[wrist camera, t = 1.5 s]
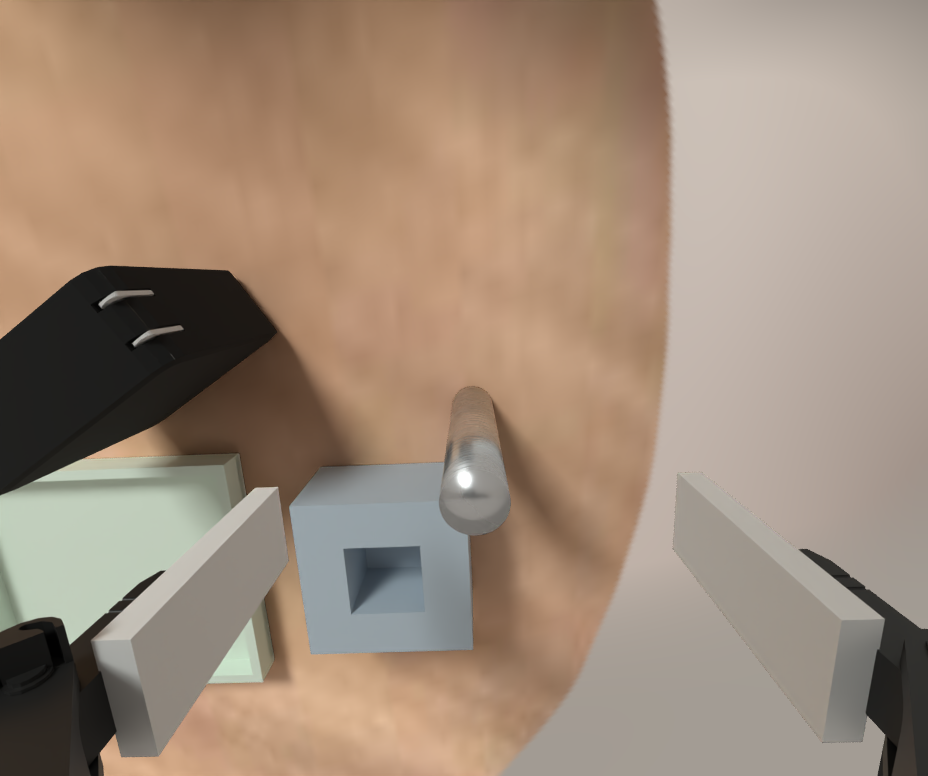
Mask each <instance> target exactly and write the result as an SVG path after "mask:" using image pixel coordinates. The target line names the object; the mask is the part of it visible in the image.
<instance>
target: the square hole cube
mask: <svg viewBox="0 0 928 776" xmlns="http://www.w3.org/2000/svg"><path fill="white" fill-rule="evenodd" d="M443 468H444V462H438V463H411V464H385V465H358V466H332V467H320V468H319V470H318V471H317V472H316V473H315V475H314V476H313V477H312V478H311V480H310V481H309V482H308V483H307V485H306V486H305V487H304V488H303V490H302V491H301V492H300V493H299V495H298V496H297V497H296V498H295V500H294V501H293V502H292V503H291V505H290V506H289V510H290V517H291V523H292V530H293V537H294V543H295V550H296V557H297V564H298V570H299V577H300V584H301V590H302V597H303V604H304V611H305V617H306V624H307V631H308V638H309V644H310V651H311V654H341V653H376V652H411V651H446V650H473V588H472V566H471V545H470V535H466V534H463V533H460V532H458V531H456V530H454V529H453V528H451V527H450V526H449V525H448V524H447V523H446V522H445V520H444V519H443V517H442V515H441V512H440V508H439V497H440V490H441V482H442V475H443Z"/></svg>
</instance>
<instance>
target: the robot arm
mask: <svg viewBox="0 0 928 776" xmlns="http://www.w3.org/2000/svg"><path fill="white" fill-rule="evenodd" d="M673 550H674V551H675V552H676V554H677V555H678V556H679V558H680V559H681V560H682V561H683V563H684V564H685V565H686V566H687V568H688V569H689V571H690V572H691V573H692V574H693V576H694V577H695V578H696V580H697V581H698V582H699V584H700V585H701V586H702V587H703V589H704V590H705V591H706V593H707V594H708V595H709V597H710V598H711V599H712V600H713V602H714V603H715V604H716V605H717V607H718V608H719V609H720V611H721V612H722V613H723V615H724V616H725V617H726V619H727V620H728V621H729V622H730V624H731V625H732V626H733V628H734V629H735V630H736V632H737V633H738V634H739V635H740V636H741V638H742V639H743V641H744V642H745V643H746V645H747V646H748V647H749V648H750V650H751V651H752V652H753V654H754V655H755V656H756V658H757V659H758V660H759V661H760V663H761V664H762V665H763V666H764V668H765V669H766V671H767V672H768V673H769V674H770V676H771V677H772V678H773V680H774V681H775V682H776V683H777V685H778V686H779V687H780V689H781V690H782V691H783V692H784V694H785V695H786V696H787V698H788V699H789V700H790V701H791V703H792V704H793V706H794V707H795V708H796V709H797V710H798V712H799V713H800V715H801V716H802V717H803V718H804V720H805V721H806V722H807V724H808V725H809V726H810V728H811V729H812V730H813V731H814V733H815V734H816V735H817V737H818V738H819V739H820V741H821V742H822V743H835V742H862V741H863V736H864V731H865V725H866V719H867V715H868V716H869V718H870V719H871V720H872V721H873V722H874V723H875V724H876V725H877V726H878V727H879V728H880V729H881V730H882V732H883V733H884V734H885V741H884V746H883V751H882V756H881V761H880V766H879V771H878V776H928V629H920V628H919V627H917V626H916V625H915V624H914V623H912V622H911V621H909V620H908V619H907V618H906V617H904V616H903V615H902V614H900V613H899V612H898V611H896V610H895V609H894V608H893V607H891V606H890V605H889V604H887V603H886V602H885V601H883V600H882V599H880V598H879V597H878V596H877V595H875V594H874V593H873V592H871V591H870V590H866V589H865V586H864V585H862V584H861V583H860V582H858V581H857V580H856V579H854V578H850V575H849V574H848V573H846V572H845V571H844V570H842V569H841V568H840V567H839V566H837V565H836V564H835V563H833V562H832V561H831V560H828V559H826V558H824V557H822V556H820V555H818V554H816V553H814V552H812V551H810V550H808V549H797V548H796V547H794V546H793V545H792V544H791V543H789V542H788V541H787V540H786V539H784V538H783V537H782V536H781V535H779V534H778V533H777V532H776V531H774V530H773V529H772V528H771V527H769V526H768V525H767V524H766V523H765V522H763V521H762V520H761V519H760V518H758V517H757V516H756V515H754V514H753V513H752V512H751V511H749V510H748V509H747V508H746V507H744V506H743V505H742V504H741V503H740V502H738V501H737V500H736V499H735V498H733V497H732V496H731V495H730V494H728V493H727V492H726V491H725V490H723V489H722V488H721V487H720V486H718V485H717V484H716V483H715V482H713V481H712V480H711V479H710V478H708V477H707V476H706V475H705V474H703V473H702V472H685V473H678V474H677V491H676V506H675V522H674V538H673ZM288 561H289V559H288V552H287V545H286V538H285V531H284V524H283V518H282V511H281V504H280V497H279V490H278V487H263V488H254V489H253V490H252V491H251V492H250V493H249V494H248V495H247V496H246V497H245V498H244V499H243V500H242V501H240V502H239V503H238V504H237V505H236V506H235V507H234V508H233V509H232V510H231V511H230V512H229V513H228V514H226V515H225V516H224V517H223V518H222V519H221V520H220V521H219V522H218V523H217V524H216V525H215V526H214V527H212V528H211V529H210V530H209V531H208V532H207V533H206V534H205V535H204V536H203V537H202V538H201V539H200V540H199V541H197V542H196V543H195V544H194V545H193V546H192V547H191V548H190V549H189V550H188V551H187V552H186V553H185V554H183V555H182V556H181V557H180V558H179V559H178V560H177V561H176V562H175V563H174V564H173V565H172V566H171V567H169V568H168V569H167V570H163V571H159V572H157V573H156V574H154V575H152V576H150V577H149V578H147V579H145V580H144V581H142V582H140V583H139V584H138V585H136V586H135V587H134V588H133V589H132V590H131V591H130V592H129V593H127V594H126V595H125V596H124V597H123V599H122V601H118V602H117V603H116V604H115V605H114V606H113V607H112V608H111V609H110V610H109V612H108V613H105V614H104V615H103V616H102V617H101V618H99V619H98V620H97V621H96V622H95V623H94V624H93V625H92V626H90V627H89V628H88V629H87V630H86V631H85V632H84V633H83V634H81V635H80V636H79V637H78V638H77V639H76V640H75V641H74V642H72V643H71V644H69V641H68V637H67V634H66V630H65V626H64V624H63V621H62V619H60V618H56V617H43V618H37V619H33V620H30V621H26V622H23V623H20V624H17V625H15V626H13V627H10V628H8V629H6V630H3V631H1V632H0V776H104V771H103V763H102V760H101V756H100V752H101V750H102V749H103V748H104V747H105V745H106V744H107V743H108V742H109V740H110V739H111V738H112V737H113V735H114V734H115V735H116V739H117V742H118V746H119V750H120V754H121V757H155V756H159V755H160V754H161V752H162V751H163V749H164V748H165V746H166V745H167V743H168V742H169V740H170V739H171V737H172V736H173V734H174V733H175V731H176V730H177V728H178V727H179V725H180V724H181V722H182V721H183V719H184V718H185V716H186V715H187V713H188V712H189V710H190V709H191V707H192V706H193V704H194V703H195V701H196V700H197V698H198V697H199V695H200V694H201V692H202V691H203V689H204V688H205V686H206V685H207V683H208V682H209V680H210V679H211V677H212V676H213V674H214V673H215V671H216V670H217V668H218V667H219V665H220V664H221V662H222V661H223V659H224V658H225V656H226V655H227V653H228V652H229V650H230V649H231V647H232V646H233V644H234V643H235V641H236V640H237V638H238V637H239V635H240V634H241V632H242V631H243V629H244V628H245V626H246V625H247V623H248V622H249V620H250V619H251V617H252V615H253V614H254V612H255V611H256V609H257V608H258V606H259V605H260V603H261V602H262V600H263V599H264V597H265V596H266V594H267V593H268V591H269V590H270V588H271V587H272V585H273V584H274V582H275V581H276V579H277V578H278V576H279V575H280V573H281V572H282V570H283V569H284V567H285V566H286V564H287V563H288Z"/></svg>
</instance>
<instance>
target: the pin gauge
mask: <svg viewBox="0 0 928 776" xmlns="http://www.w3.org/2000/svg"><path fill="white" fill-rule="evenodd" d="M510 506H511V500H510V494H509V488H508V483H507V478H506V472H505V467H504V462H503V457H502V451H501V446H500V441H499V435H498V430H497V425H496V419H495V414H494V409H493V403H492V400H491V397H490V395H489V394H488V393H487V392H486V391H485V390H483V389H482V388H479V387H475V386H470V387H466V388H463V389H461V390H460V391H459V392H458V393H457V394H456V395H455V397H454V399H453V403H452V410H451V417H450V424H449V431H448V439H447V446H446V453H445V460H444V468H443V475H442V482H441V490H440V497H439V508H440V512H441V515H442V517H443V519H444V520H445V522H446V523H447V524H448V525H449V526H450V527H451V528H453V529H454V530H456V531H458V532H460V533H463V534H466V535H483V534H487V533H490V532H492V531H494V530H495V529H497V528H498V527H499V526H501V525H502V523H503V522H504V521H505V520H506V518H507V516H508V514H509V511H510Z"/></svg>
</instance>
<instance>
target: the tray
mask: <svg viewBox="0 0 928 776" xmlns="http://www.w3.org/2000/svg"><path fill="white" fill-rule="evenodd" d="M245 497H246V490H245V484H244V478H243V472H242V467H241V461H240V455H239V453H232V454H206V455H180V456H154V457H128V458H102V459H81V460H79V461H77V462H74V463H72V464H70V465H68V466H66V467H64V468H61V469H59V470H57V471H55V472H53V473H51V474H48V475H46V476H44V477H42V478H40V479H38V480H35V481H33V482H31V483H29V484H27V485H24V486H22V487H20V488H18V489H16V490H13V491H11V492H8V493H5V494H3V495H0V632H1V631H3V630H6V629H8V628H10V627H13V626H15V625H17V624H20V623H23V622H26V621H30V620H33V619H37V618H43V617H56V618H60V619H62V621H63V624H64V626H65V630H66V634H67V637H68V641H69V644H71V643H72V642H74V641H75V640H76V639H77V638H78V637H79V636H80V635H81V634H83V633H84V632H85V631H86V630H87V629H88V628H89V627H90V626H92V625H93V624H94V623H95V622H96V621H97V620H98V619H99V618H101V617H102V616H103V615H104V614H105V613H108V612H109V610H110V609H111V608H112V607H113V606H114V605H115V604H116V603H117V602H118V601H122V599H123V597H124V596H125V595H126V594H127V593H129V592H130V591H131V590H132V589H133V588H134V587H135V586H136V585H138V584H139V583H140V582H142V581H144V580H145V579H147V578H149V577H150V576H152V575H154V574H156V573H157V572H159V571H163V570H167V569H168V568H169V567H171V566H172V565H173V564H174V563H175V562H176V561H177V560H178V559H179V558H180V557H181V556H182V555H183V554H185V553H186V552H187V551H188V550H189V549H190V548H191V547H192V546H193V545H194V544H195V543H196V542H197V541H199V540H200V539H201V538H202V537H203V536H204V535H205V534H206V533H207V532H208V531H209V530H210V529H211V528H212V527H214V526H215V525H216V524H217V523H218V522H219V521H220V520H221V519H222V518H223V517H224V516H225V515H226V514H228V513H229V512H230V511H231V510H232V509H233V508H234V507H235V506H236V505H237V504H238V503H239V502H240V501H242V500H243V499H244V498H245ZM274 660H275V659H274V653H273V647H272V641H271V635H270V629H269V624H268V618H267V612H266V606H265V600H264V599H263V600H262V602H261V603H260V605H259V606H258V608H257V609H256V611H255V612H254V614H253V615H252V617H251V619H250V620H249V622H248V623H247V625H246V626H245V628H244V629H243V631H242V632H241V634H240V635H239V637H238V638H237V640H236V641H235V643H234V644H233V646H232V647H231V649H230V650H229V652H228V653H227V655H226V656H225V658H224V659H223V661H222V662H221V664H220V665H219V667H218V668H217V670H216V671H215V673H214V674H213V676H212V677H211V679H210V680H209V682H208V683H207V684H210V683H246V682H263V681H264V679H265V677H266V675H267V673H268V671H269V669H270V668H271V666H272V664H273V662H274Z"/></svg>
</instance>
